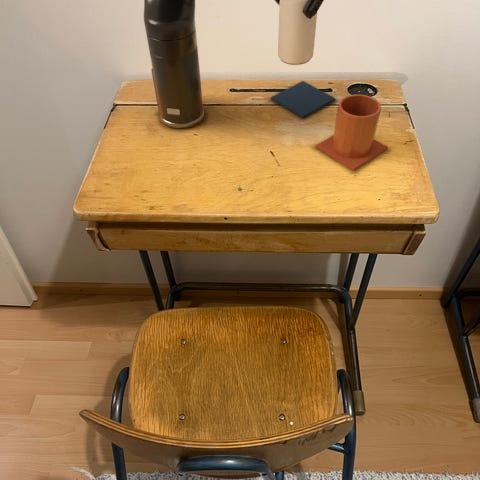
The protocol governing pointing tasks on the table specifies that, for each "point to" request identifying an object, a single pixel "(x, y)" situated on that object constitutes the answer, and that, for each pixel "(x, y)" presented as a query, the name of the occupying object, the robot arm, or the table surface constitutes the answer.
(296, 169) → the table surface
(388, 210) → the table surface
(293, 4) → the can
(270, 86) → the table surface
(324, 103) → the blue mat
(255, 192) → the table surface
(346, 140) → the terracotta cup
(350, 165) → the terracotta mat
